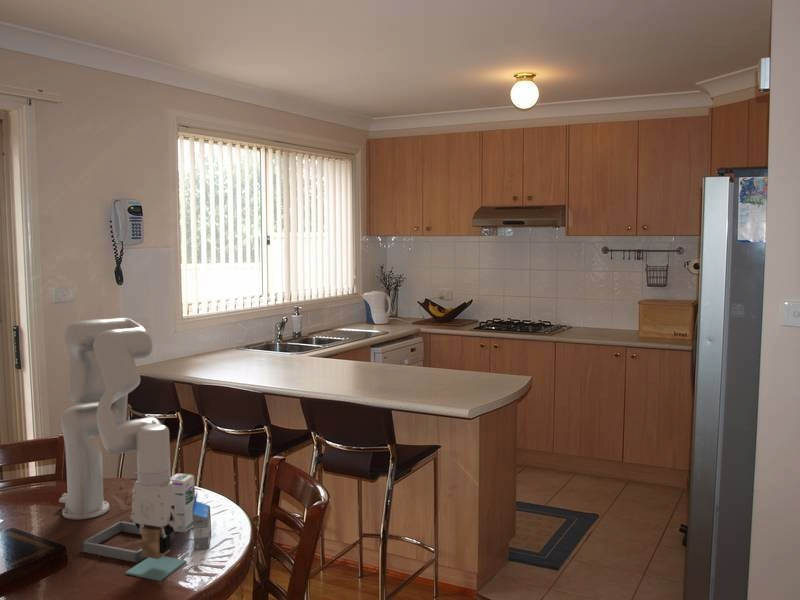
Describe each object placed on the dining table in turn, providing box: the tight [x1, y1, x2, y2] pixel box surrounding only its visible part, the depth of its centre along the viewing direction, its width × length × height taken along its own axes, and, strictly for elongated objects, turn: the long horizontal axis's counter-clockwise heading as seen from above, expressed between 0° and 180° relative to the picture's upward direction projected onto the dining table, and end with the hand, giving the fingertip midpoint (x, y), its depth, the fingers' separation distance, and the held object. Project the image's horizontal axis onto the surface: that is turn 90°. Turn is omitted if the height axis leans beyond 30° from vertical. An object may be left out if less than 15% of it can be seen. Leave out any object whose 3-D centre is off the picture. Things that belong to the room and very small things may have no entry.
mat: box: [125, 555, 187, 582], centre depth 175 cm, size 10×10×1 cm
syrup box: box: [171, 473, 196, 534], centre depth 198 cm, size 6×6×14 cm
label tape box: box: [192, 492, 212, 551], centre depth 189 cm, size 9×4×12 cm, turn 10°
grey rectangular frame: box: [80, 520, 175, 564], centre depth 187 cm, size 17×14×2 cm
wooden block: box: [141, 525, 171, 559], centre depth 174 cm, size 4×4×7 cm
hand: (156, 548), depth 174 cm, fingers closed on wooden block, 4 cm apart
